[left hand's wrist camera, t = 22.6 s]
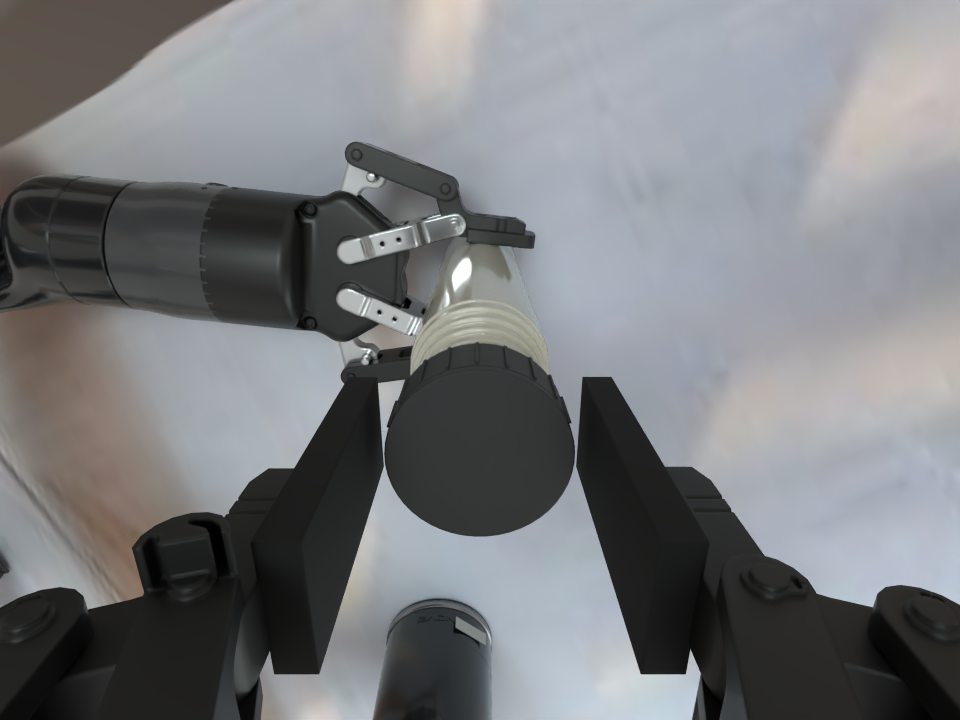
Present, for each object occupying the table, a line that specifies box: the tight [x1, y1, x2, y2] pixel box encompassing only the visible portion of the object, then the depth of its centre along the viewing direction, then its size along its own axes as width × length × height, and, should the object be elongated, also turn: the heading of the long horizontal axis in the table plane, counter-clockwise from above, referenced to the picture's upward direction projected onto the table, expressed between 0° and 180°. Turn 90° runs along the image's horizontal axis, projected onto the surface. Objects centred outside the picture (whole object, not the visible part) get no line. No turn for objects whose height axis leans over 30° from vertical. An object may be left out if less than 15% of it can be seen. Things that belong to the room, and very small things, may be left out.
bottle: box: [410, 237, 549, 375], centre depth 25 cm, size 5×5×25 cm
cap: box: [384, 342, 575, 536], centre depth 14 cm, size 5×5×2 cm
